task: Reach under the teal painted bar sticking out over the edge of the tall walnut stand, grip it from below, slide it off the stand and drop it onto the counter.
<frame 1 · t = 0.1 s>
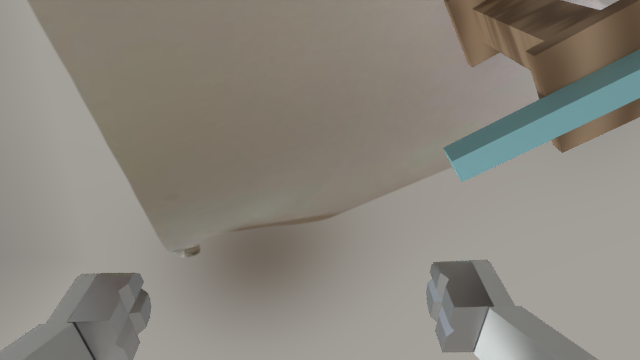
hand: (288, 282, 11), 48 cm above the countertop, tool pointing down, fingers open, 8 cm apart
teal bar: (586, 89, 31), point 26 cm above the countertop, touching walnut stand
walnut stand: (491, 13, 53), on the countertop
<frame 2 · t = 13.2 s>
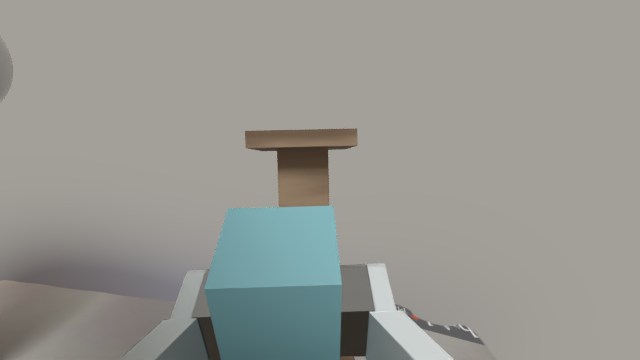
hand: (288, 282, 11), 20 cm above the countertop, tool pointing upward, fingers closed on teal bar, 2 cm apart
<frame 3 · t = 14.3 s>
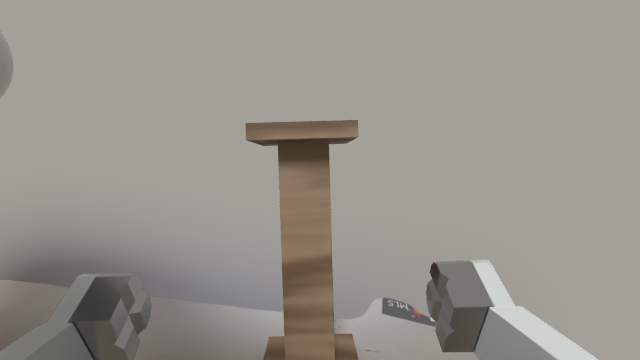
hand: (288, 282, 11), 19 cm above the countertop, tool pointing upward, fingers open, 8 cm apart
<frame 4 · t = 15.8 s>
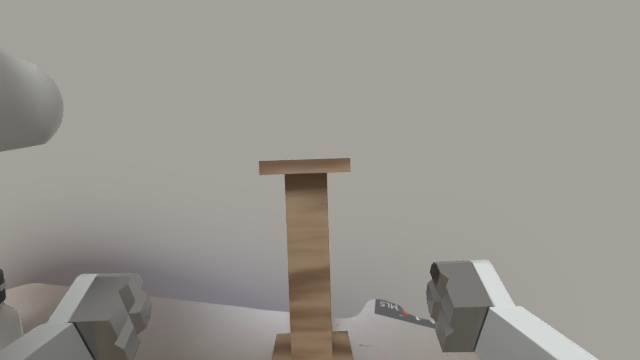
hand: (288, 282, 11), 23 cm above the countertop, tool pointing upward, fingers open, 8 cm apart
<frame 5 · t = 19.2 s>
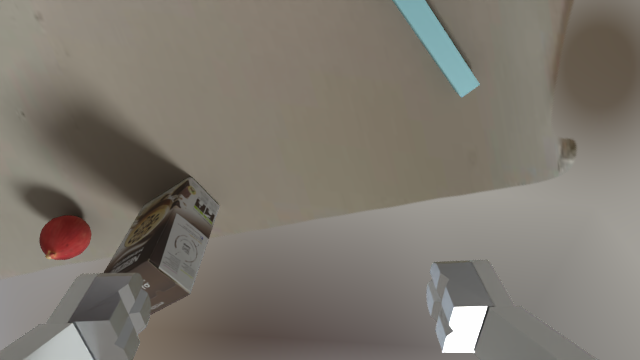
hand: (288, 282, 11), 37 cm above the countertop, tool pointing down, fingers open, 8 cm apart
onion: (80, 218, 56), on the countertop
coffee box: (181, 204, 55), on the countertop
teal bar: (408, 3, 42), on the countertop
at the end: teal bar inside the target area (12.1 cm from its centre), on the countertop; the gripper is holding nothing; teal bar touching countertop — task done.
